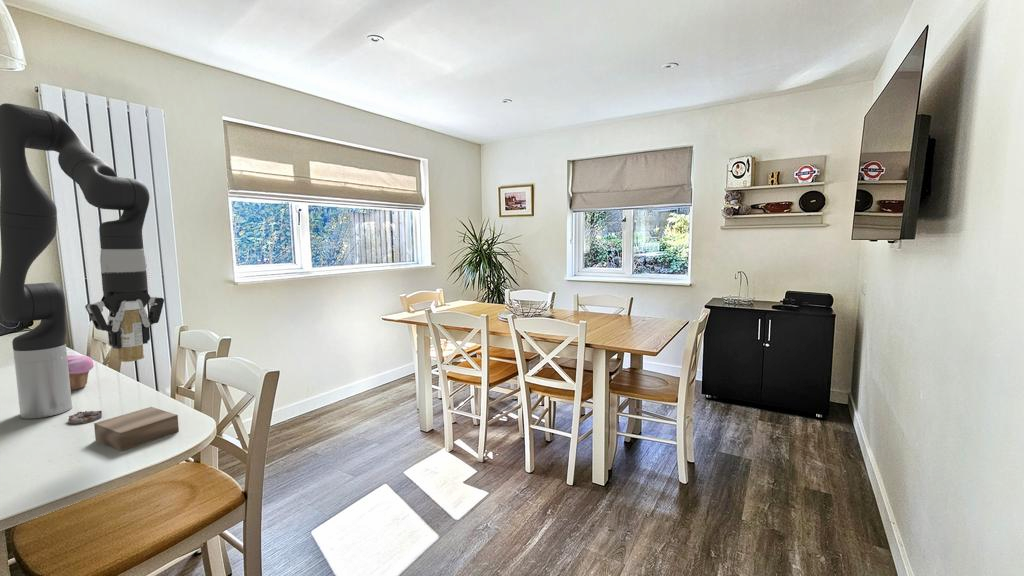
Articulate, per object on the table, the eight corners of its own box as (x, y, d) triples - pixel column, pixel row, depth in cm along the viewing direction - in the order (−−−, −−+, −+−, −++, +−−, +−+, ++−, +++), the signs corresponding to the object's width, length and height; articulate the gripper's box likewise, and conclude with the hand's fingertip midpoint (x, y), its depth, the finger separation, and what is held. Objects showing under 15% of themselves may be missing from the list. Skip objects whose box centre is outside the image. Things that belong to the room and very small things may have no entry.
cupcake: (58, 386, 133) (54, 354, 132) (97, 381, 138) (94, 350, 137) (51, 395, 126) (47, 361, 125) (93, 389, 131) (90, 356, 130)
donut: (102, 424, 109) (101, 416, 109) (58, 431, 105) (57, 423, 105) (109, 412, 116) (108, 404, 116) (68, 418, 112) (67, 411, 111)
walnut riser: (95, 440, 99) (94, 423, 99) (152, 422, 109) (151, 406, 109) (122, 451, 95) (120, 433, 94) (178, 431, 105) (177, 414, 104)
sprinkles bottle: (112, 362, 98) (107, 301, 96) (130, 356, 102) (125, 298, 101) (133, 362, 98) (128, 302, 96) (150, 357, 102) (145, 299, 101)
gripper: (152, 267, 106) (157, 337, 108) (73, 270, 93) (80, 350, 95) (170, 268, 103) (175, 341, 104) (91, 272, 90) (98, 355, 92)
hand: (130, 345), depth 100 cm, fingers closed on sprinkles bottle, 4 cm apart
